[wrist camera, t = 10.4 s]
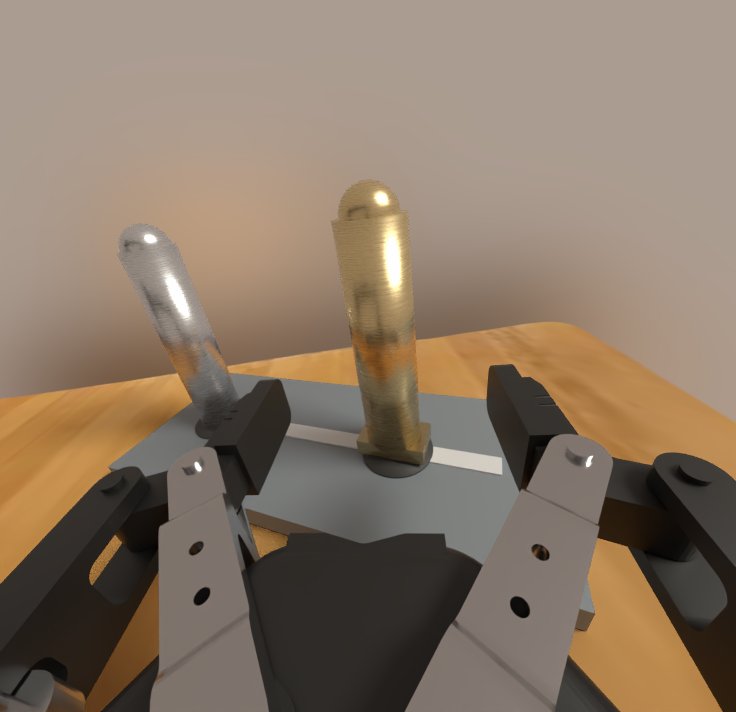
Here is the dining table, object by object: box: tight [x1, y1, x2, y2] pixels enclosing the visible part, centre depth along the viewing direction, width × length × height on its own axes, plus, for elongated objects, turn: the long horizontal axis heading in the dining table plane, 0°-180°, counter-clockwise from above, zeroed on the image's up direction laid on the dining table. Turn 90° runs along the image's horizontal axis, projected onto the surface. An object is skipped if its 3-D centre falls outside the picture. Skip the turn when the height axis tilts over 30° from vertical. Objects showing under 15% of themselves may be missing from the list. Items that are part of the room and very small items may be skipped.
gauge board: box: [109, 373, 595, 631], centre depth 21 cm, size 28×12×2 cm, turn 70°
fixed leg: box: [117, 224, 240, 431], centre depth 20 cm, size 3×3×14 cm
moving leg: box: [331, 180, 431, 465], centre depth 15 cm, size 4×3×14 cm
